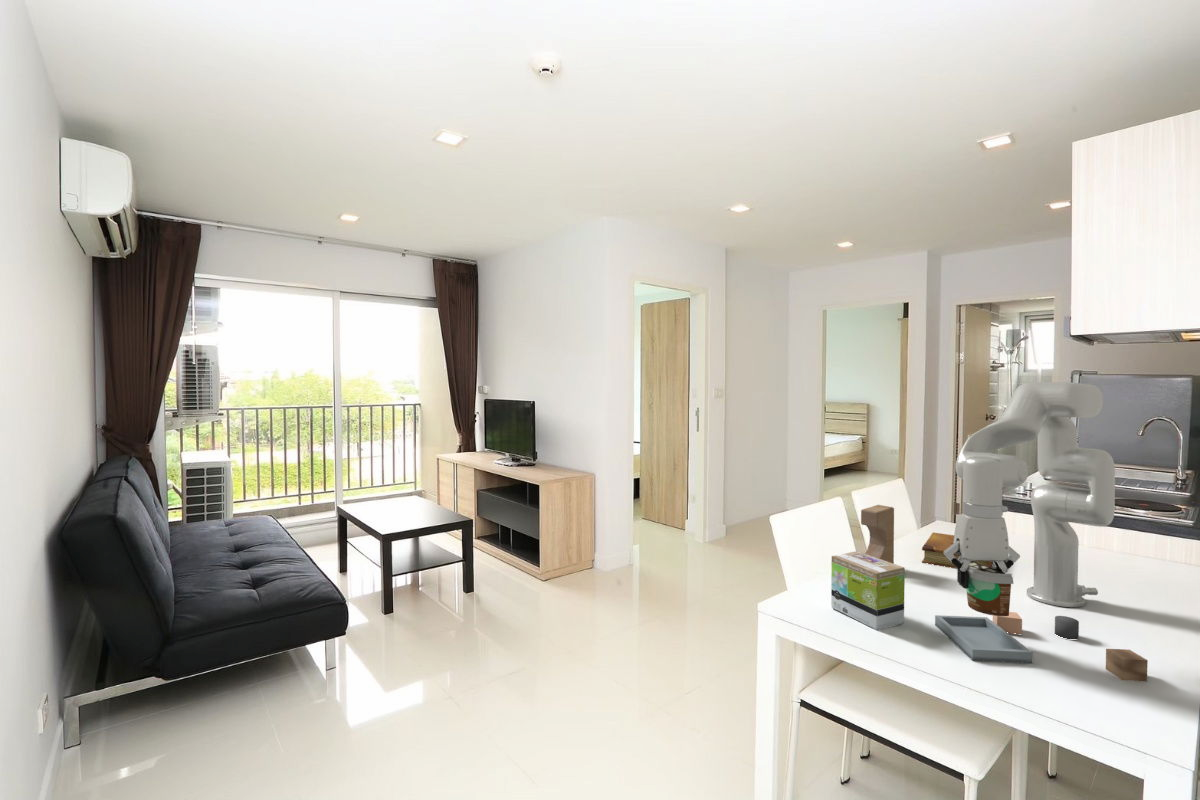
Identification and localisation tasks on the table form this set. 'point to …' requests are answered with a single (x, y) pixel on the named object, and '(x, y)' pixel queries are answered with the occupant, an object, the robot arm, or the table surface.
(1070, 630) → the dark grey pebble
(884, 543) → the decorative block
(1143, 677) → the walnut cube
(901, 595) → the tea box
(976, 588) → the food container
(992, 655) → the tray
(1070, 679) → the table surface
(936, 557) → the diary
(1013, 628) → the terracotta block
